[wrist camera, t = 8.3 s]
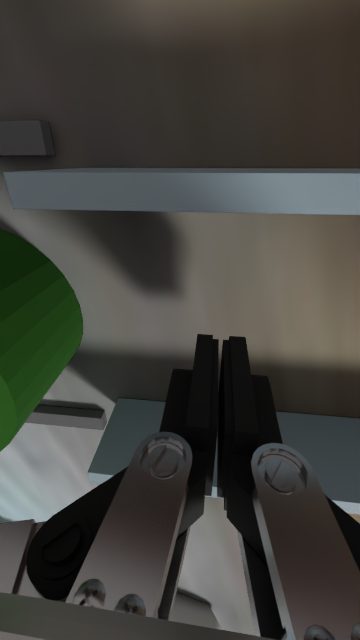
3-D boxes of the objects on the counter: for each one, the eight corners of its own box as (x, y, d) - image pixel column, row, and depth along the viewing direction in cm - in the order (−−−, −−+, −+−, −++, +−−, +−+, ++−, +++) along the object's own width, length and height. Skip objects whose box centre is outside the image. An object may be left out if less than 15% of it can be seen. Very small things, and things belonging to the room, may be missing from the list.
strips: (48, 122, 10) (39, 120, 9) (106, 422, 17) (103, 430, 17) (-128, 125, 10) (-146, 123, 10) (3, 412, 18) (-4, 419, 18)
